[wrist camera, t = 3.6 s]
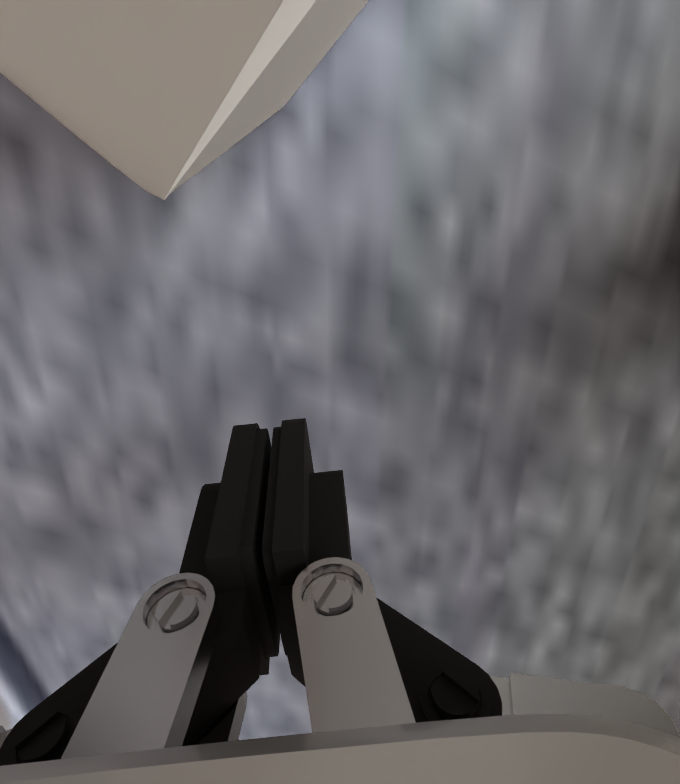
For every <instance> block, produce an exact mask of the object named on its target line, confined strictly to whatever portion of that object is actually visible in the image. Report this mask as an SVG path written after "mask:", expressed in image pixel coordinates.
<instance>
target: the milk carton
mask: <svg viewBox="0 0 680 784" xmlns="http://www.w3.org/2000/svg"><path fill="white" fill-rule="evenodd" d="M368 1H369V0H0V73H1V74H2V75H4V76H5V77H6V78H7V79H8V80H10V81H11V82H12V83H13V84H15V85H16V86H17V87H18V88H19V89H21V90H22V91H23V92H24V93H25V94H27V95H28V96H29V97H30V98H31V99H33V100H34V101H35V102H36V103H37V104H39V105H40V106H41V107H42V108H43V109H45V110H46V111H47V112H48V113H49V114H51V115H52V116H53V117H54V118H55V119H57V120H58V121H59V122H60V123H61V124H63V125H64V126H65V127H66V128H67V129H69V130H70V131H71V132H72V133H74V134H75V135H76V136H77V137H79V138H80V139H81V140H82V141H83V142H85V143H86V144H87V145H88V146H90V147H91V148H92V149H93V150H95V151H96V152H97V153H98V154H99V155H101V156H102V157H103V158H104V159H106V160H107V161H108V162H109V163H111V164H112V165H113V166H114V167H115V168H117V169H118V170H119V171H121V172H122V173H123V174H124V175H126V176H127V177H128V178H130V179H131V180H132V181H133V182H135V183H136V184H137V185H139V186H140V187H141V188H143V189H144V190H145V191H147V192H149V193H151V194H153V195H155V196H157V197H159V198H160V199H162V200H163V201H164V200H165V199H166V198H167V196H168V195H169V194H171V193H172V192H173V191H175V190H176V189H177V188H179V187H180V186H181V185H182V184H184V183H185V182H186V181H188V180H189V179H190V178H192V177H193V176H194V175H196V174H197V173H198V172H200V171H201V170H202V169H203V168H205V167H206V166H207V165H209V164H210V163H211V162H212V161H214V160H215V159H216V158H218V157H219V156H220V155H222V154H223V153H224V152H225V151H227V150H228V149H229V148H231V147H232V146H233V145H235V144H236V143H237V142H238V141H240V140H241V139H242V138H244V137H245V136H246V135H248V134H249V133H250V132H251V131H253V130H254V129H255V128H257V127H258V126H259V125H260V124H262V123H263V122H264V121H266V120H267V119H268V118H270V117H271V116H272V115H273V114H275V113H276V112H277V111H279V110H280V109H281V108H283V107H284V106H285V105H286V104H287V102H288V101H289V100H290V99H291V97H292V96H293V95H294V94H295V92H296V91H297V90H298V89H299V87H300V86H301V85H302V84H303V82H304V81H305V80H306V79H307V77H308V76H309V75H310V74H311V72H312V71H313V70H314V69H315V67H316V66H317V65H318V64H319V62H320V61H321V60H322V59H323V57H324V56H325V55H326V54H327V52H328V51H329V50H330V49H331V47H332V46H333V45H334V44H335V42H336V41H337V40H338V39H339V37H340V36H341V35H342V34H343V32H344V31H345V30H346V29H347V27H348V26H349V25H350V24H351V22H352V21H353V20H354V19H355V17H356V16H357V15H358V14H359V12H360V11H361V10H362V9H363V7H364V6H365V5H366V4H367V2H368Z"/></svg>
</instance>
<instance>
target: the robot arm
mask: <svg viewBox="0 0 680 784" xmlns="http://www.w3.org/2000/svg"><path fill="white" fill-rule="evenodd" d="M280 634H281V639H282V643H283V647H284V651H285V655H287V657H288V661H289V665H290V669H291V674H292V675H293V676H294V677H295V678H296V679H297V680H298V681H299V682H300V683H302V684H303V685H304V686H305V687H306V693H307V700H308V706H309V713H310V720H311V726H312V733H307V734H297V735H287V736H277V737H267V738H258V739H248V740H238V738H239V734H240V730H241V726H242V722H243V717H244V713H245V709H246V703H247V692H246V691H247V690H248V689H249V688H250V687H251V686H252V685H253V684H254V683H255V682H256V681H257V680H258V679H259V675H266V674H269V660H270V657H274V656H278V654H279V642H280ZM0 784H680V735H679V732H678V730H677V729H676V727H675V725H674V723H673V721H672V719H671V717H670V716H669V715H668V714H667V712H666V711H665V710H664V709H663V708H662V707H661V706H660V705H659V704H658V703H657V702H656V701H654V700H653V699H651V698H649V697H648V696H646V695H645V694H643V693H641V692H639V691H635V690H632V689H629V688H625V687H619V686H611V685H603V684H595V683H587V682H579V681H571V680H564V679H556V678H548V677H540V676H532V675H524V674H516V673H510V676H509V678H501V677H494V676H489V675H488V674H487V673H486V672H485V671H484V670H483V669H481V668H480V667H479V666H478V665H477V664H475V663H474V662H472V661H471V660H469V659H468V658H466V657H465V656H463V655H462V654H460V653H459V652H457V651H456V650H454V649H453V648H451V647H450V646H448V645H447V644H445V643H444V642H442V641H441V640H439V639H438V638H436V637H435V636H433V635H432V634H430V633H429V632H427V631H426V630H424V629H423V628H421V627H420V626H418V625H417V624H415V623H414V622H412V621H411V620H409V619H408V618H406V617H405V616H403V615H402V614H400V613H399V612H397V611H396V610H394V609H393V608H391V607H390V606H388V605H387V604H385V603H384V602H382V601H381V600H379V599H378V598H376V595H375V592H374V589H373V585H372V582H371V579H370V577H369V576H368V574H367V572H366V570H365V569H364V568H362V567H361V566H360V565H359V564H358V563H356V562H354V561H352V558H351V547H350V536H349V525H348V515H347V506H346V496H345V487H344V479H343V471H342V470H338V471H329V472H319V473H314V470H313V463H312V456H311V450H310V443H309V436H308V430H307V423H306V419H305V418H303V419H293V420H284V421H282V425H281V427H275V428H274V429H273V438H272V448H271V443H270V438H269V433H268V430H267V428H266V429H260V428H259V425H258V424H257V423H255V424H245V425H236V426H233V429H232V434H231V439H230V443H229V448H228V452H227V457H226V462H225V466H224V471H223V476H222V480H221V483H214V484H205V485H204V486H203V487H202V489H201V492H200V496H199V499H198V503H197V507H196V511H195V515H194V519H193V522H192V526H191V530H190V534H189V538H188V542H187V545H186V549H185V553H184V557H183V561H182V565H181V568H180V572H179V574H175V575H172V576H169V577H166V578H164V579H162V580H161V581H159V582H157V583H156V584H154V585H153V586H152V587H151V588H149V589H148V590H147V591H146V592H145V593H144V594H143V596H142V597H141V599H140V600H139V602H138V603H137V605H136V607H135V609H134V611H133V613H132V615H131V617H130V619H129V621H128V623H127V625H126V627H125V629H124V631H123V634H122V636H121V638H120V640H119V642H118V643H117V644H115V645H114V646H113V647H112V648H110V649H109V650H108V651H106V652H105V653H104V654H103V655H101V656H100V657H99V658H97V659H96V660H95V661H94V662H92V663H91V664H90V665H89V666H87V667H86V668H85V669H83V670H82V671H81V672H80V673H78V674H77V675H76V676H74V677H73V678H72V679H71V680H69V681H68V682H67V683H66V684H64V685H63V686H62V687H60V688H59V689H58V690H57V691H55V692H54V693H53V694H51V695H50V696H49V697H48V698H46V699H45V700H44V701H43V702H41V703H40V704H39V705H37V706H36V707H35V708H34V709H32V710H31V711H30V712H29V713H27V714H26V715H25V716H24V717H23V718H22V719H21V720H20V721H19V722H18V723H17V724H16V725H15V726H14V727H13V729H10V730H7V731H6V730H5V729H4V728H3V726H0Z"/></svg>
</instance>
